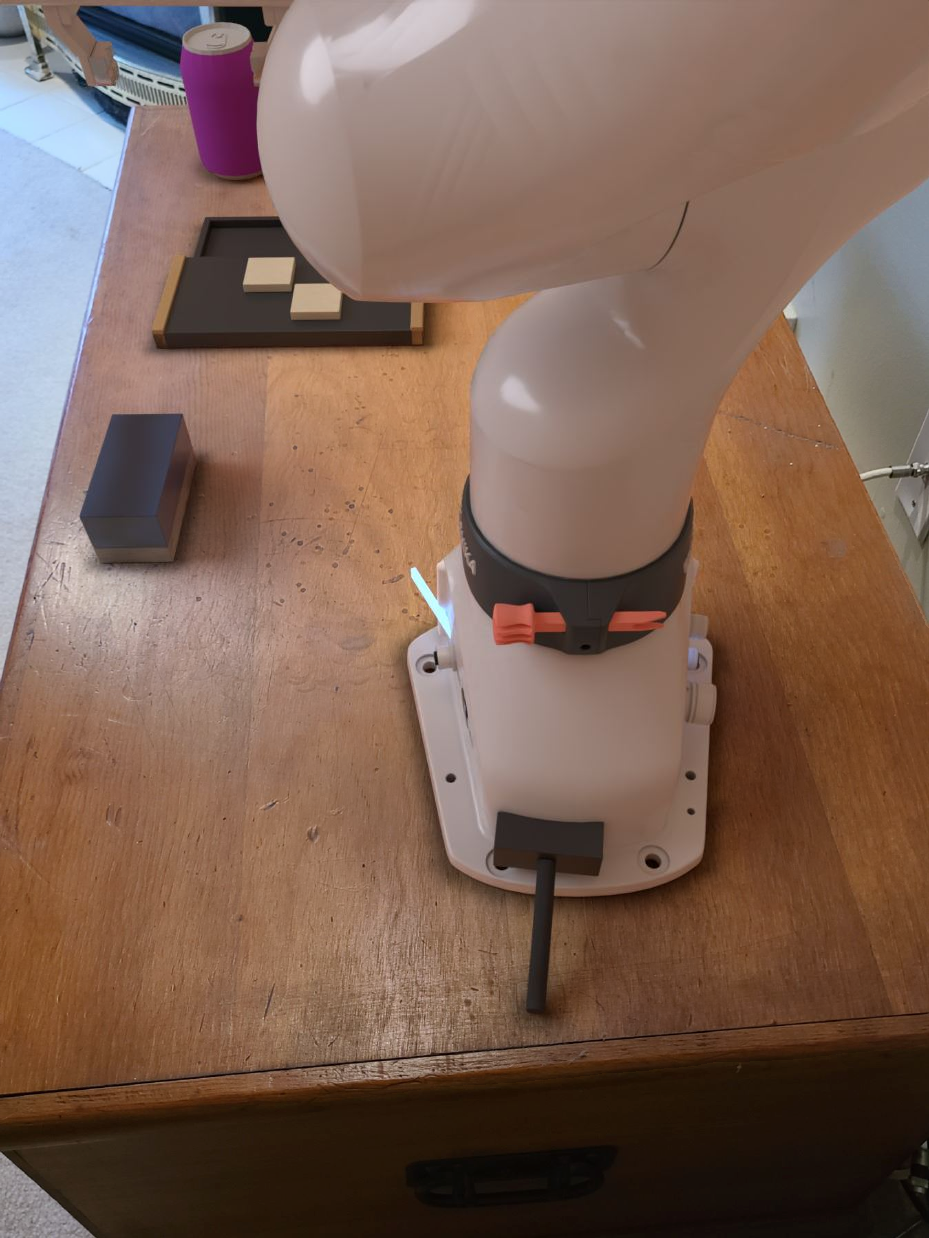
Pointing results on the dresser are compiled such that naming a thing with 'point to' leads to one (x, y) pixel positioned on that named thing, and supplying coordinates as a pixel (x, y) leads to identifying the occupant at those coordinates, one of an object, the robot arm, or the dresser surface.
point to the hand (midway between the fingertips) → (187, 82)
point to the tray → (244, 237)
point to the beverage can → (222, 98)
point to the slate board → (268, 311)
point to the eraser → (139, 488)
